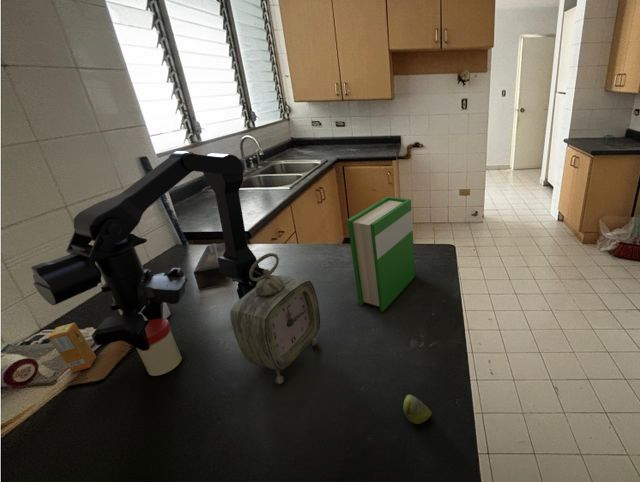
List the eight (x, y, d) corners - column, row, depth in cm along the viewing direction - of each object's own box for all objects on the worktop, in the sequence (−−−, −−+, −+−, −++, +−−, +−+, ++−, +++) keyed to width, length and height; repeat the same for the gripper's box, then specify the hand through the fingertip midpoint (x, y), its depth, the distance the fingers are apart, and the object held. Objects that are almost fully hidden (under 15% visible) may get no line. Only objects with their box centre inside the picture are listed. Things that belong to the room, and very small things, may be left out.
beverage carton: (237, 256, 115) (232, 238, 112) (229, 285, 98) (223, 266, 96) (211, 260, 112) (205, 243, 110) (198, 292, 96) (191, 272, 93)
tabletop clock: (280, 393, 63) (248, 281, 53) (244, 381, 66) (207, 273, 56) (325, 340, 75) (306, 242, 66) (293, 332, 78) (270, 236, 69)
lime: (404, 406, 60) (403, 386, 58) (432, 406, 59) (431, 386, 57) (403, 430, 55) (401, 409, 53) (432, 430, 55) (431, 409, 53)
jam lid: (125, 350, 64) (122, 343, 64) (140, 328, 70) (137, 321, 69) (163, 342, 66) (160, 335, 65) (175, 321, 72) (173, 315, 71)
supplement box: (77, 362, 73) (55, 326, 69) (97, 357, 74) (77, 321, 70) (69, 374, 70) (46, 336, 66) (90, 368, 71) (69, 331, 67)
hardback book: (383, 311, 84) (373, 224, 75) (359, 304, 87) (347, 220, 78) (415, 276, 98) (410, 199, 89) (393, 271, 102) (387, 196, 92)
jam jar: (185, 350, 75) (172, 318, 71) (176, 371, 69) (161, 337, 66) (154, 357, 73) (139, 325, 69) (142, 379, 68) (125, 345, 64)
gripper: (152, 292, 56) (182, 362, 62) (189, 244, 73) (209, 303, 79) (72, 306, 53) (111, 378, 59) (128, 253, 70) (155, 313, 76)
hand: (153, 338), depth 68 cm, fingers closed on jam lid, 6 cm apart
